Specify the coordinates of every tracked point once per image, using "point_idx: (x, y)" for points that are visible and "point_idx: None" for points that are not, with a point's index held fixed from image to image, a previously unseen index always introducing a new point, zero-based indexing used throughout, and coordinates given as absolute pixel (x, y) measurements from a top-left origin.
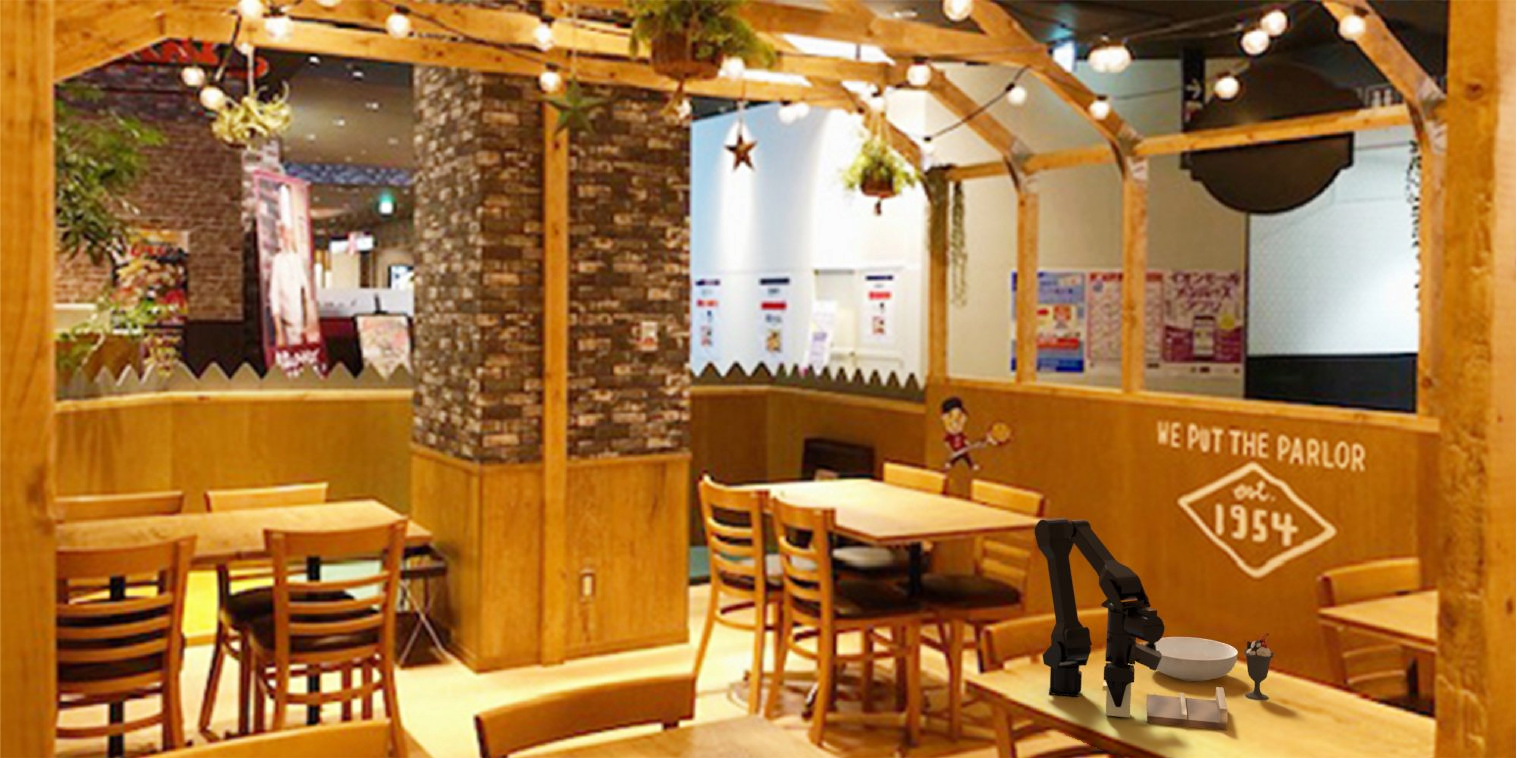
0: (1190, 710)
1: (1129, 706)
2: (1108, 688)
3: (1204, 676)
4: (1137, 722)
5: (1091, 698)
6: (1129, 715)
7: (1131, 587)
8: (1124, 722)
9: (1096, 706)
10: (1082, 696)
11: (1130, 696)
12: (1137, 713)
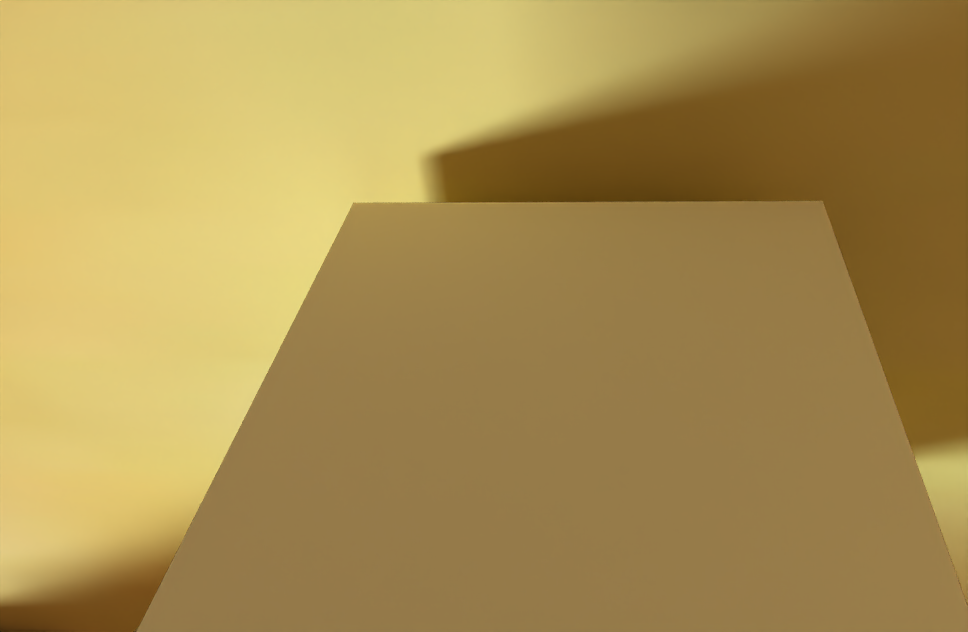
0: None
1: (863, 362)
2: None
3: None
4: (930, 22)
5: (24, 558)
6: (824, 230)
7: None
8: (955, 252)
9: None
10: (25, 612)
11: (948, 582)
12: (298, 46)
